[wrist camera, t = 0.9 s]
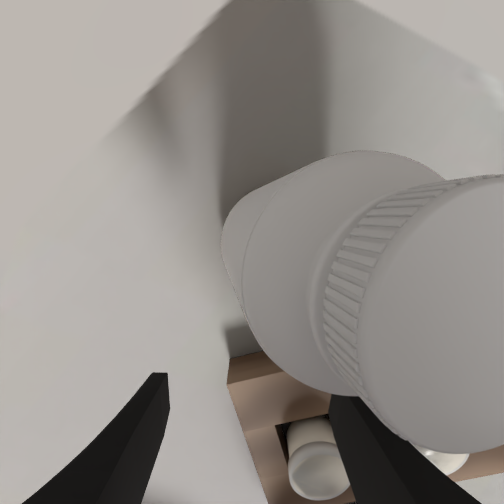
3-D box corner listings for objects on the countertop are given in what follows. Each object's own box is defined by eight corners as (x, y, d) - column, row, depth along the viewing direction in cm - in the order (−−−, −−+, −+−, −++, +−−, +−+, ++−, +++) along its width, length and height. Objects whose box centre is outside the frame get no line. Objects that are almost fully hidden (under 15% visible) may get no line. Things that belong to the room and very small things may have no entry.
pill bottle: (289, 162, 19) (602, -15, 4) (344, 254, 20) (697, 360, 6) (195, 227, 18) (169, 294, 4) (260, 315, 20) (418, 600, 5)
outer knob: (342, 450, 22) (357, 493, 19) (290, 461, 22) (297, 505, 19) (332, 407, 21) (346, 446, 18) (278, 419, 21) (282, 459, 18)
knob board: (549, 422, 24) (589, 455, 21) (270, 480, 26) (273, 517, 23) (549, 282, 21) (597, 298, 18) (229, 358, 23) (226, 384, 20)
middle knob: (440, 429, 22) (472, 470, 18) (386, 440, 22) (408, 483, 19) (435, 384, 21) (467, 420, 17) (378, 397, 21) (400, 434, 18)
